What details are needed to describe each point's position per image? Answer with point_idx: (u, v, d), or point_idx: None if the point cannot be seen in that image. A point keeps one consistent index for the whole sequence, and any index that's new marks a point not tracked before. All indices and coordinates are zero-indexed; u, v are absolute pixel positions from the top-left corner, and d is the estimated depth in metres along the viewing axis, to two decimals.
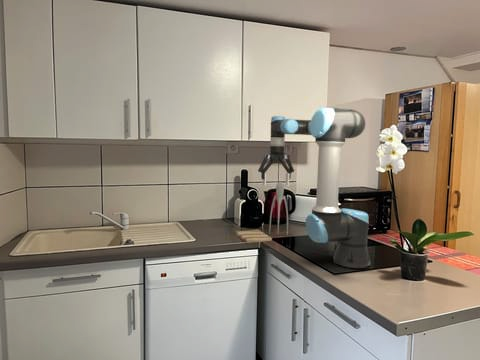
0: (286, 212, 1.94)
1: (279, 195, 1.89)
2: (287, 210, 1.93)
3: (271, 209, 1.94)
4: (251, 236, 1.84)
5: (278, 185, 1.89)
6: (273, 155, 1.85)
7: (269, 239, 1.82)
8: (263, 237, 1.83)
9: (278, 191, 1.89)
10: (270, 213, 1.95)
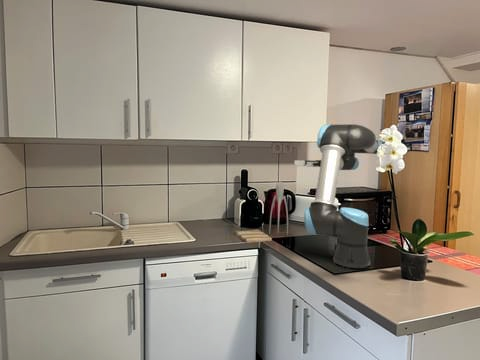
0: (286, 212, 1.94)
1: (279, 195, 1.89)
2: (287, 210, 1.93)
3: (271, 209, 1.94)
4: (251, 236, 1.84)
5: (278, 185, 1.89)
6: None
7: (269, 239, 1.82)
8: (263, 237, 1.83)
9: (278, 191, 1.89)
10: (270, 213, 1.95)
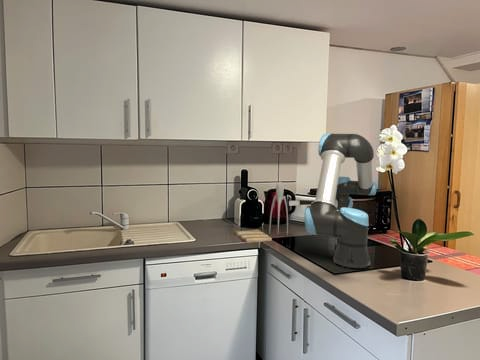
0: (286, 212, 1.94)
1: (279, 195, 1.89)
2: (287, 210, 1.93)
3: (271, 209, 1.94)
4: (251, 236, 1.84)
5: (278, 185, 1.89)
6: None
7: (269, 239, 1.82)
8: (263, 237, 1.83)
9: (278, 191, 1.89)
10: (270, 213, 1.95)
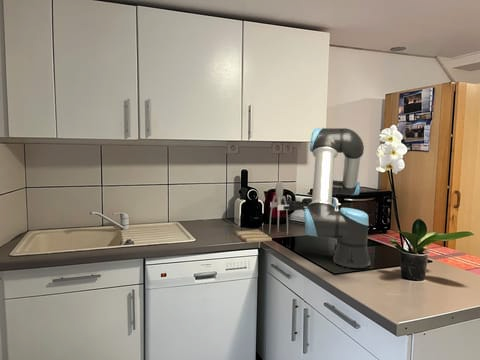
0: (286, 212, 1.94)
1: (279, 195, 1.90)
2: None
3: (271, 209, 1.94)
4: (251, 236, 1.84)
5: (277, 185, 1.89)
6: None
7: (269, 239, 1.82)
8: (263, 237, 1.83)
9: (278, 191, 1.89)
10: (270, 213, 1.95)
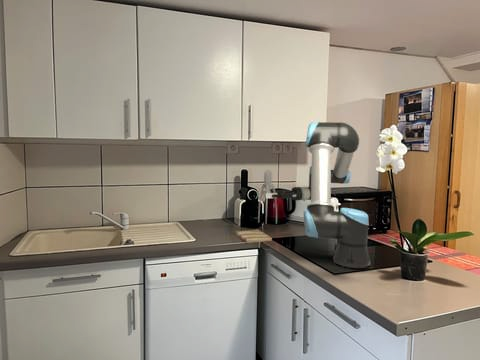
0: (275, 200, 1.92)
1: (267, 183, 1.88)
2: None
3: (260, 198, 1.93)
4: (251, 236, 1.84)
5: (266, 173, 1.88)
6: None
7: (269, 239, 1.82)
8: (263, 237, 1.83)
9: (266, 179, 1.88)
10: (259, 202, 1.94)
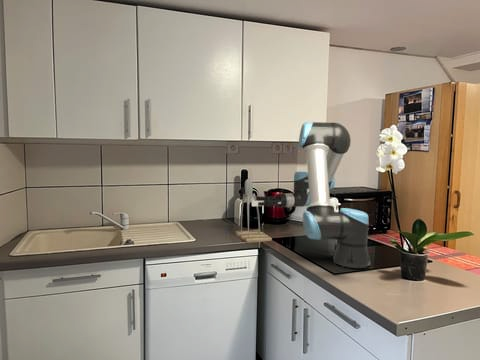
0: (257, 210, 1.88)
1: (248, 193, 1.83)
2: None
3: (241, 207, 1.88)
4: (251, 236, 1.84)
5: (246, 183, 1.83)
6: None
7: (269, 239, 1.82)
8: (263, 237, 1.83)
9: (247, 189, 1.83)
10: (241, 212, 1.89)
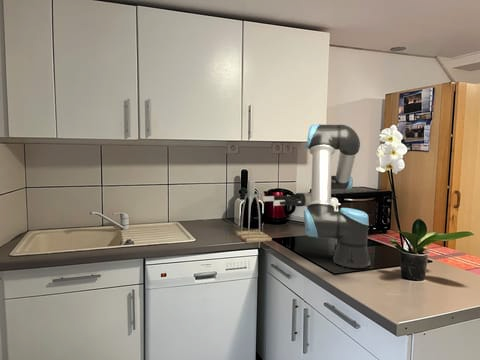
0: (258, 210, 1.88)
1: (250, 193, 1.84)
2: (259, 208, 1.88)
3: (243, 207, 1.89)
4: (251, 236, 1.84)
5: (249, 183, 1.83)
6: None
7: (269, 239, 1.82)
8: (263, 237, 1.83)
9: (249, 189, 1.83)
10: (242, 212, 1.90)
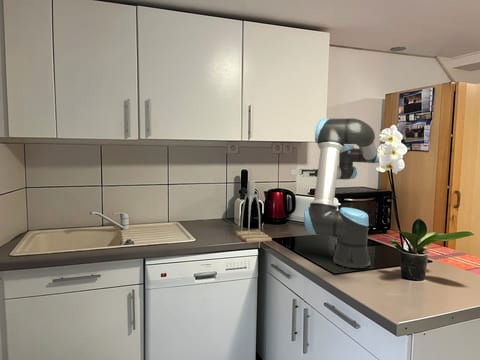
0: (258, 210, 1.88)
1: (250, 193, 1.84)
2: (259, 208, 1.88)
3: (243, 207, 1.89)
4: (251, 236, 1.84)
5: (249, 183, 1.83)
6: None
7: (269, 239, 1.82)
8: (263, 237, 1.83)
9: (249, 189, 1.83)
10: (242, 212, 1.90)
